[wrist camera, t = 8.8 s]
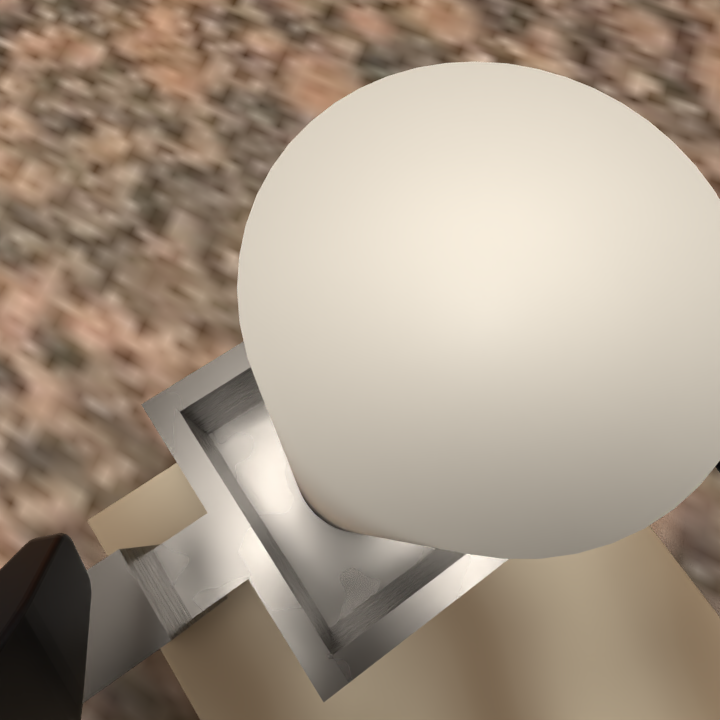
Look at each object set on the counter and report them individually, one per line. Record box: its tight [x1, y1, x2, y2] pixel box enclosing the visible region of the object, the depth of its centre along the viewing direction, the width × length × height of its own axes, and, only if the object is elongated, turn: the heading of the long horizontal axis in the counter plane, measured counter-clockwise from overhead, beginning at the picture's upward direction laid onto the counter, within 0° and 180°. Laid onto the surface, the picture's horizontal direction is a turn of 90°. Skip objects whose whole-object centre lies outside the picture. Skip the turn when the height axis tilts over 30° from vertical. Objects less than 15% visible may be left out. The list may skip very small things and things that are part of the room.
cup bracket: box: [83, 342, 508, 703], centre depth 14 cm, size 10×7×6 cm
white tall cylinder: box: [237, 62, 720, 559], centre depth 10 cm, size 4×4×13 cm
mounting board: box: [87, 463, 720, 720], centre depth 17 cm, size 13×14×1 cm
